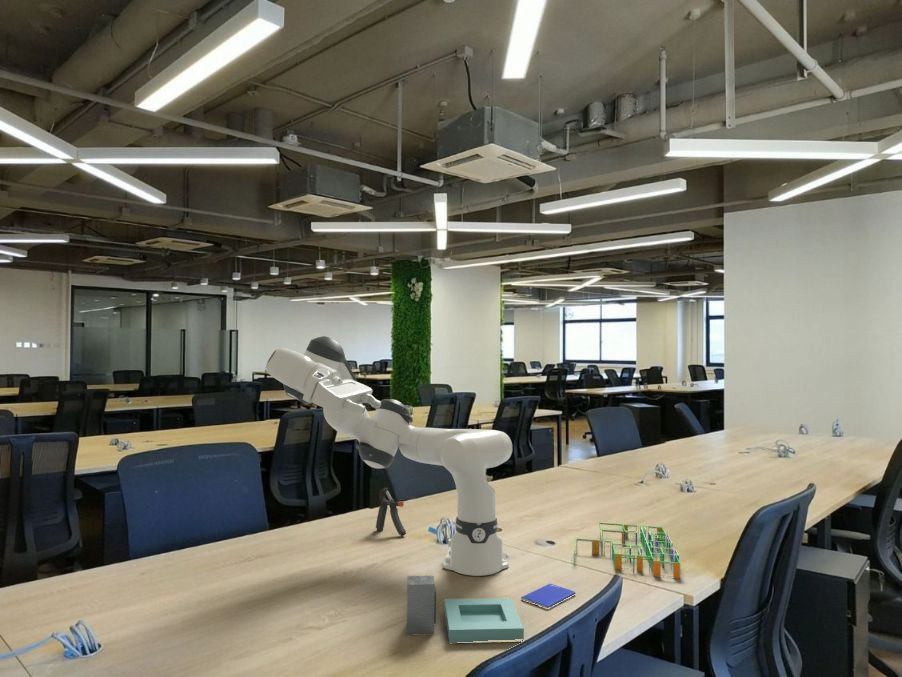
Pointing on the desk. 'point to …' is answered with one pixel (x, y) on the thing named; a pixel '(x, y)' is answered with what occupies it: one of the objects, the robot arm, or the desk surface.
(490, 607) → the tray
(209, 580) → the desk surface
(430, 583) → the block
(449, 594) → the desk surface
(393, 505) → the hand grip strengthener
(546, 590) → the blue book
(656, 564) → the house model
